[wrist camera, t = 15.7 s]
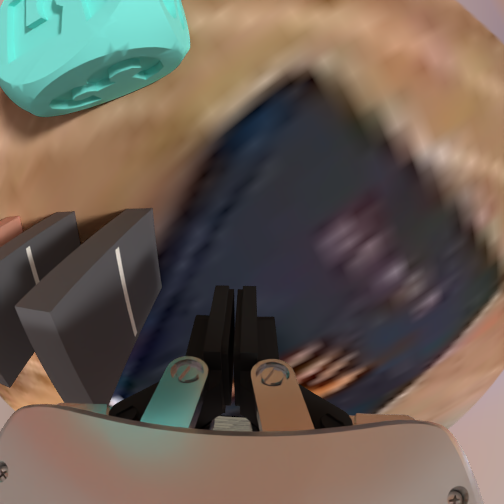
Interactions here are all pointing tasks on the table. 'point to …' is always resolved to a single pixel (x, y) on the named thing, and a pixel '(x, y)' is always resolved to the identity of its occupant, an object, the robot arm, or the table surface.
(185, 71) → the table surface
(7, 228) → the domino
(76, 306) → the domino
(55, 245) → the domino
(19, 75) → the decorative dice
